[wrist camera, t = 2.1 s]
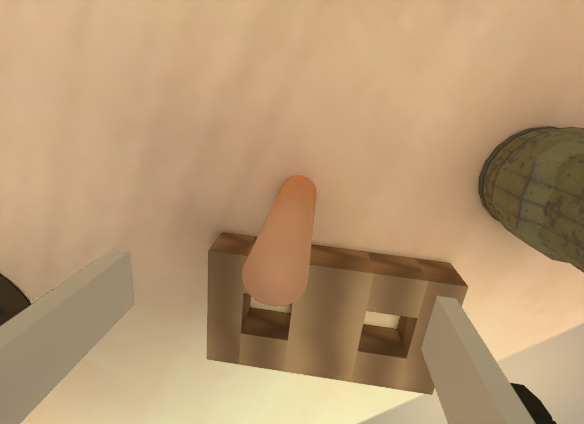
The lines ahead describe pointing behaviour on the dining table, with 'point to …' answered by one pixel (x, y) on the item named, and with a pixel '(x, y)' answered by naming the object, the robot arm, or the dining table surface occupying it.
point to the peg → (283, 247)
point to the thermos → (539, 190)
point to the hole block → (331, 316)
